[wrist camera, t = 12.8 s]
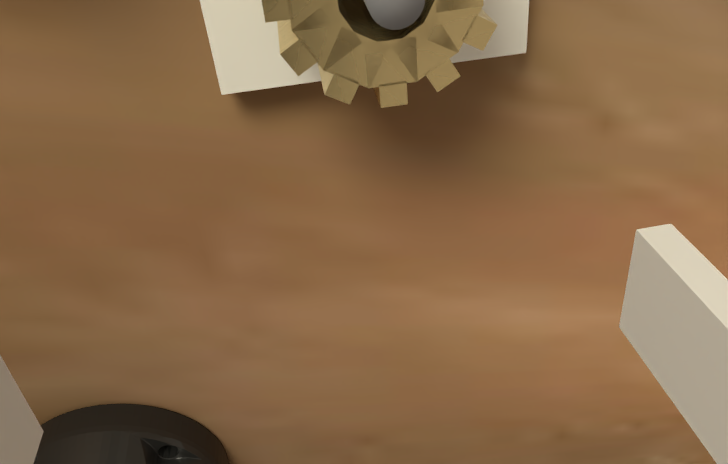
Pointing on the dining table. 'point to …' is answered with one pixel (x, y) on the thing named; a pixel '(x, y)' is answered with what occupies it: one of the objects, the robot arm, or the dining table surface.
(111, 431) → the robot arm
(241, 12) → the gear board
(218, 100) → the dining table surface
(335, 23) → the brass gear
